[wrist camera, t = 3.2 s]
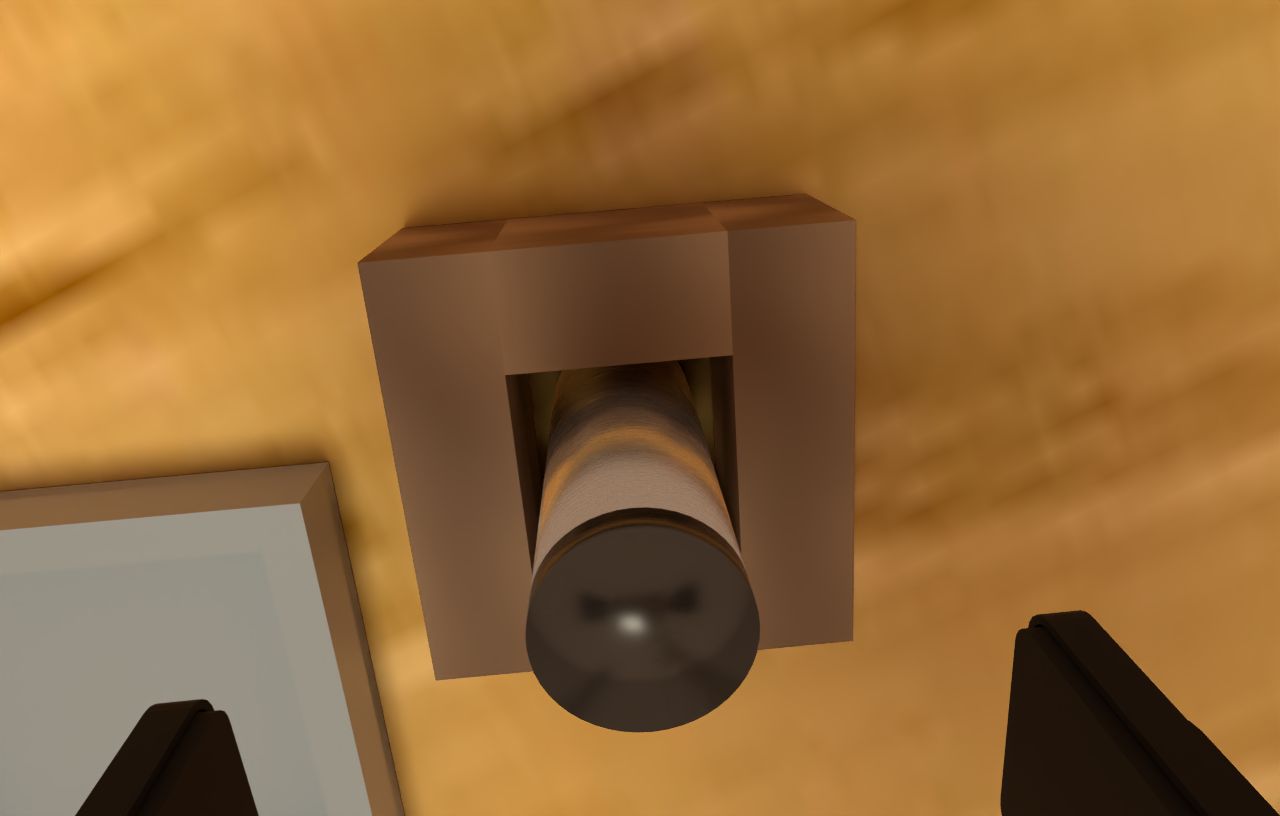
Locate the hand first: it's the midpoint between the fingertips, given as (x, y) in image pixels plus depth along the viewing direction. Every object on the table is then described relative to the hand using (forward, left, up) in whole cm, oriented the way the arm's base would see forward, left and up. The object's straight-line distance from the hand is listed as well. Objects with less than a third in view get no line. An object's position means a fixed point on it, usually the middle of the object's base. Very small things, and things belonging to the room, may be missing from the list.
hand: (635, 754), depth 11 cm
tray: (+15, +9, -14) cm, 22 cm away
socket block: (0, +1, -14) cm, 14 cm away
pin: (0, +1, -14) cm, 14 cm away
